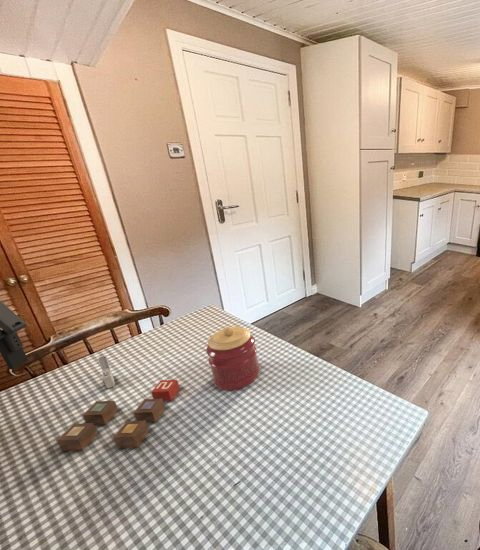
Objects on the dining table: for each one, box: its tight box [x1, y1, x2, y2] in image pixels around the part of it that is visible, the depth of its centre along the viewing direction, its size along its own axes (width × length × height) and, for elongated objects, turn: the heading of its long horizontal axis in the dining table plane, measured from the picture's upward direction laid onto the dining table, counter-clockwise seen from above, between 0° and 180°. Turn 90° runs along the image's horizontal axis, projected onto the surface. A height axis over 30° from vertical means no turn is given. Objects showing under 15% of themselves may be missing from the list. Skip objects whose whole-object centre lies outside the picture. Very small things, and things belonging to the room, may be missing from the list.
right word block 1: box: [112, 420, 150, 449], centre depth 71 cm, size 4×4×4 cm
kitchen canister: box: [205, 325, 260, 392], centre depth 89 cm, size 13×13×18 cm
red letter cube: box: [151, 379, 181, 402], centre depth 84 cm, size 4×4×4 cm
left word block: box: [81, 400, 119, 426], centre depth 77 cm, size 4×4×4 cm
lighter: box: [97, 355, 116, 389], centre depth 88 cm, size 7×2×8 cm, turn 41°
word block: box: [56, 422, 99, 452], centre depth 70 cm, size 4×4×4 cm
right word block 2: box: [133, 398, 166, 424], centre depth 77 cm, size 4×4×4 cm
